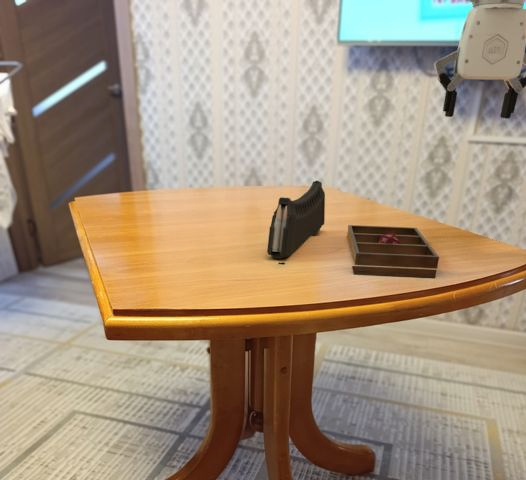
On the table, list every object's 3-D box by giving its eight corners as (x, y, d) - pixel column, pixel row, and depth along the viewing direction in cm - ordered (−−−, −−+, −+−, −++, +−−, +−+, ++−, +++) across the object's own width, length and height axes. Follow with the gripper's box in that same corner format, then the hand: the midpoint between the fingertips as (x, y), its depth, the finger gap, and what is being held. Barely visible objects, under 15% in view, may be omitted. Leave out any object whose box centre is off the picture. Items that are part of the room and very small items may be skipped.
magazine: (314, 184, 109) (277, 154, 81) (329, 185, 108) (297, 155, 80) (304, 264, 112) (264, 262, 84) (318, 266, 111) (283, 265, 83)
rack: (413, 245, 100) (416, 227, 99) (435, 278, 83) (439, 256, 81) (346, 243, 101) (348, 224, 100) (353, 274, 84) (356, 253, 82)
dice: (370, 255, 92) (373, 233, 90) (387, 251, 94) (390, 229, 92) (387, 260, 89) (390, 237, 87) (403, 256, 92) (406, 234, 90)
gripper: (450, -5, 79) (431, 117, 87) (565, -3, 78) (535, 119, 85) (439, 3, 85) (422, 115, 93) (545, 4, 84) (519, 117, 92)
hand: (476, 117), depth 89 cm, fingers open, 9 cm apart
